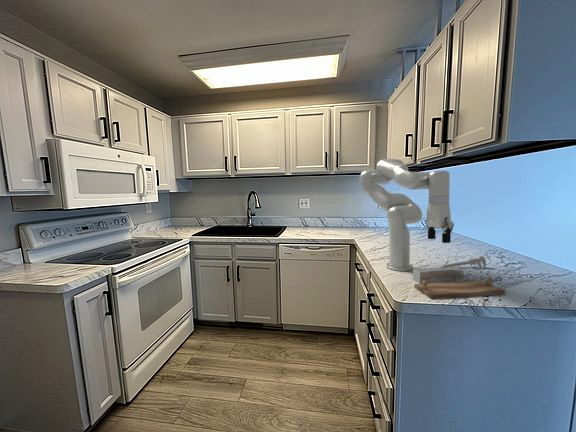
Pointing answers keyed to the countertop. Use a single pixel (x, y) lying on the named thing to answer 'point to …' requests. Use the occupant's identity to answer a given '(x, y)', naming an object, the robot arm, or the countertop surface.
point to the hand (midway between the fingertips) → (438, 240)
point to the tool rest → (458, 289)
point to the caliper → (469, 262)
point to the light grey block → (438, 274)
